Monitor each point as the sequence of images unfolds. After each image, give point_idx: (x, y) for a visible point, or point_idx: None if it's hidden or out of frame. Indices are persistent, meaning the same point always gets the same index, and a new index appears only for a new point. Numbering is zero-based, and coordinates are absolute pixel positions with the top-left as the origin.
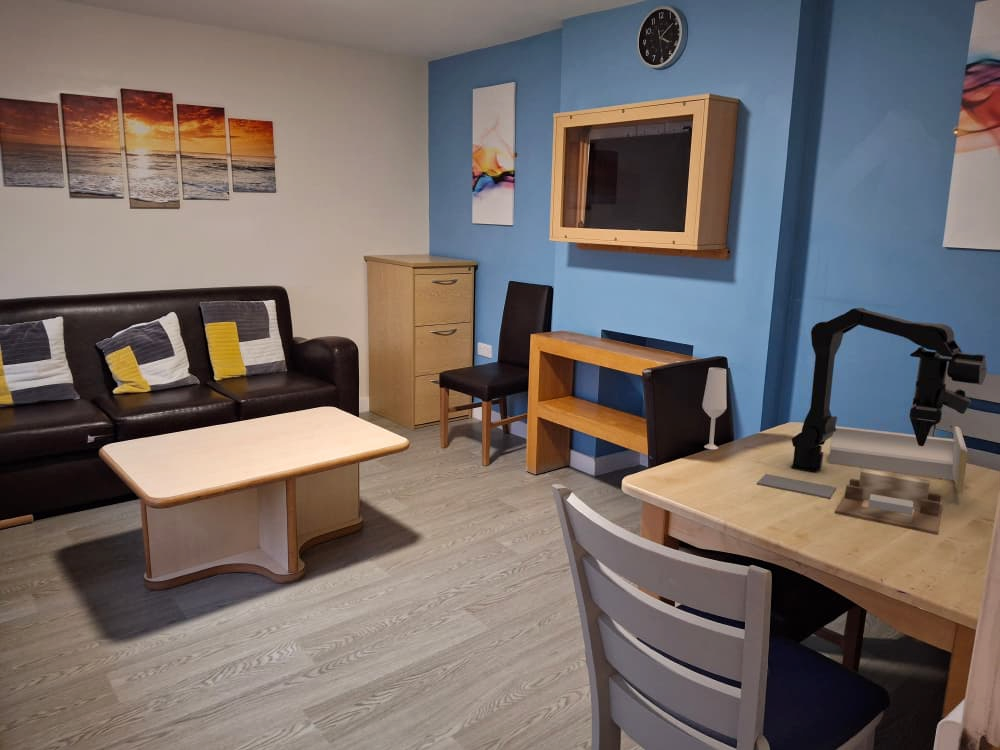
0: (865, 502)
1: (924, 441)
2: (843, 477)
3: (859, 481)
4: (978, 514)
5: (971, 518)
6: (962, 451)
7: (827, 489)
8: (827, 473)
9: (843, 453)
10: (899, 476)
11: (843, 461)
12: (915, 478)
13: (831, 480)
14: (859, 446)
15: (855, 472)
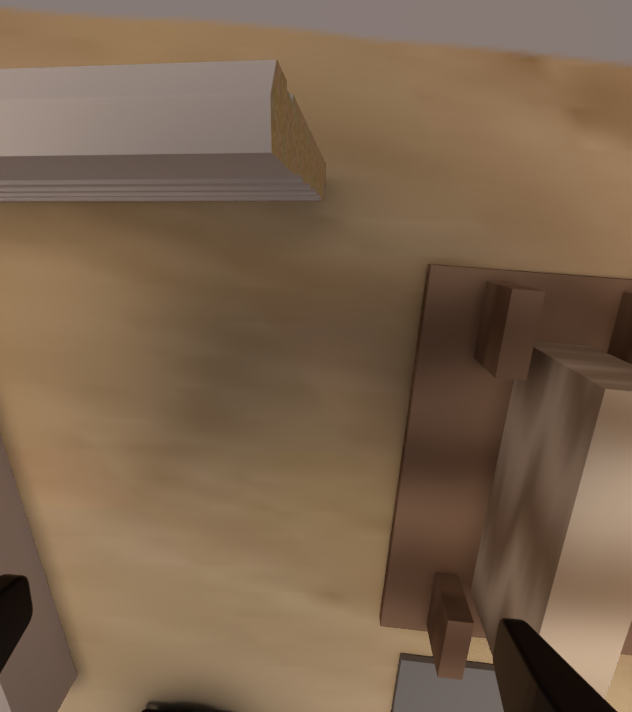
0: None
1: (580, 687)
2: (213, 630)
3: (468, 645)
4: (456, 86)
5: (550, 127)
6: (277, 134)
7: (452, 686)
8: (197, 679)
9: (22, 702)
10: (596, 558)
11: (46, 659)
12: (601, 474)
13: (288, 667)
14: None
15: (101, 591)
